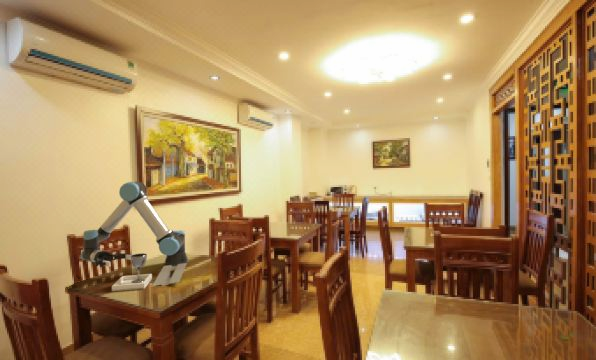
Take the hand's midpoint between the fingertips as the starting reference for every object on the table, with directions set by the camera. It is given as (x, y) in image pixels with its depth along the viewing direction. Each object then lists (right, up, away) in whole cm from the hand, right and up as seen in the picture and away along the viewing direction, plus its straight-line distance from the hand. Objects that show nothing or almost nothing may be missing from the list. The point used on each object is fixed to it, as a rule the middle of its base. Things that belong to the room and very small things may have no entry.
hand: (121, 261), depth 173 cm
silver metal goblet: (+10, -11, -1) cm, 15 cm away
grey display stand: (+29, -12, 0) cm, 31 cm away
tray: (+9, -12, -5) cm, 16 cm away
